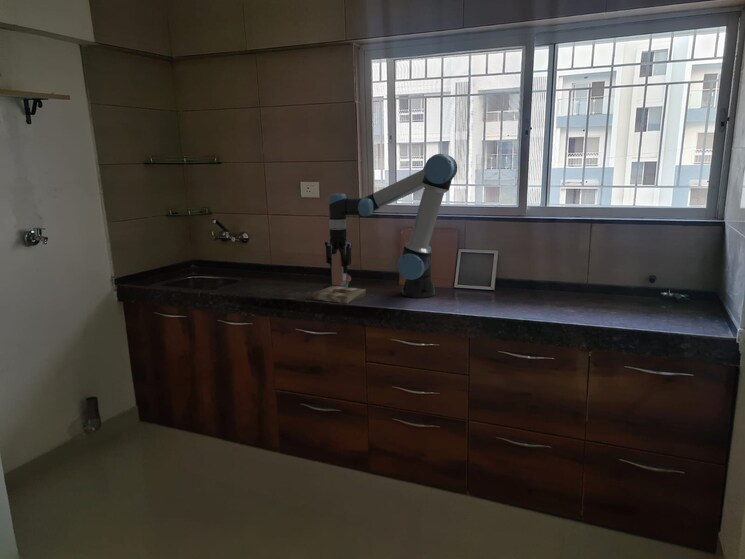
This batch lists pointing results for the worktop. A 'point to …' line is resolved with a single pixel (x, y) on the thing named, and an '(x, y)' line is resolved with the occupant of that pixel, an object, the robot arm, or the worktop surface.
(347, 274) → the cupcake
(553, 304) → the worktop surface
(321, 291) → the well block
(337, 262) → the bracket bar
